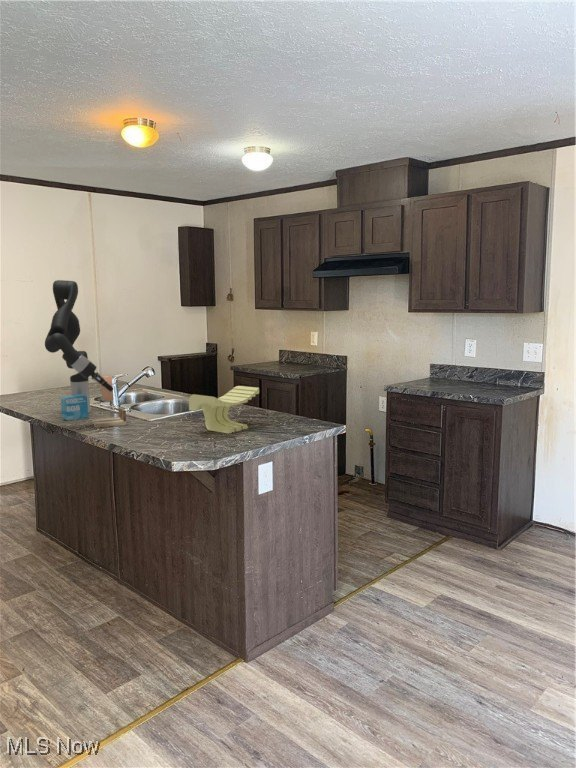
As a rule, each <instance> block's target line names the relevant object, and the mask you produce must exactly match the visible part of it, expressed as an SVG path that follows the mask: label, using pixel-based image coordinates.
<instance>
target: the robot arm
mask: <svg viewBox="0 0 576 768" xmlns="http://www.w3.org/2000/svg"><path fill="white" fill-rule="evenodd" d="M52 293H53V298H54V300H55V301H54V302H55V305H56V309H57V310H56V311H55V313H54V314H53V316H52V319H51V323H50V329H49V330H48V333H47V335H46V337H45V340H44V348H45V350H46V351H48V353H50V354H51V353H52V354H53V353H57V352H59V351H61V352H62V357H61V358H62V359H63V361H64V362H65V364H66V367H67V368H68V369H71V370H72V369H73V370H75V371H76V372H77V373H75V374H72V375H70V377H69V381H70V393H71V395H70V396H72V395H80V394H82V395H85V396H87V403H88V414H90V413H91V410H92V409H91V400H90V399H91V398H90V397H91V396H90V384H89V382H90V381H89V377H91V380H93V381H94V382H95V383H97V384H98V385H100V386H101V385H103V387H105V388H107V389H108V390H109V391H110V392H111V391H112V390H113V391H114V387H112V386H110V385H109V384H108V382H107V381H105V379H104V378H103V377H102V375H101V374H100V373H99V372H95V371H96V370H97V366H96V365H95V364H94V363H93V362H92V361H91V360H89V357H88V353H87V352H86V351H85V350H77V349H76V348H75V347H74V343H76V341H77V339H78V338H79V335H80V333H81V325H80V319H79V318H78V316H77V315H76V314H75V313H74V311H73V309H74V307H75V303H76V302H77V298H78V294H79V286H78V283H77V282H76V281H74V280H63V279H58V280H54V281H53V283H52ZM65 300H66V301H65ZM103 381H104V382H105V383H104V384H102V382H103Z"/></svg>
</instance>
